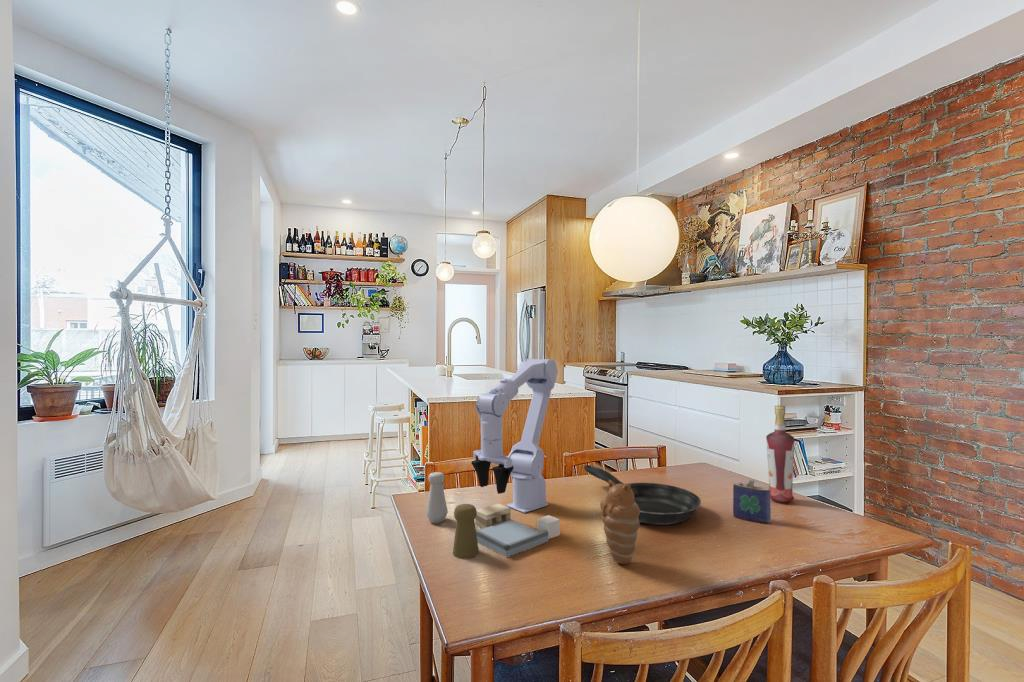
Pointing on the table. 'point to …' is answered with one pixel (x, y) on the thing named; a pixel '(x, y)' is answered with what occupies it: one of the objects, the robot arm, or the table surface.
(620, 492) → the cat ice cream
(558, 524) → the white cube
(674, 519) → the frying pan
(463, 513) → the pepper shaker
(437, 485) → the salt shaker
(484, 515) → the block
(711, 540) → the table surface
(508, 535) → the dock
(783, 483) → the liquor
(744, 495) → the flask
